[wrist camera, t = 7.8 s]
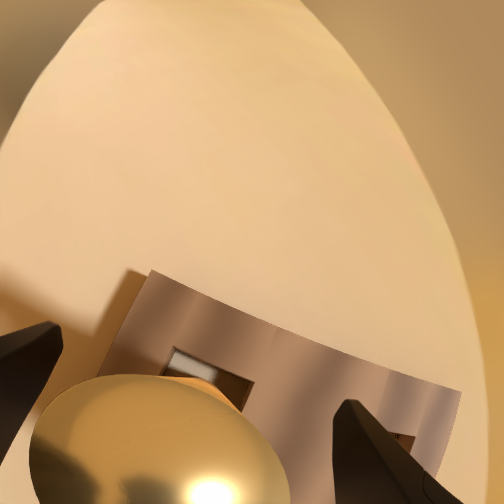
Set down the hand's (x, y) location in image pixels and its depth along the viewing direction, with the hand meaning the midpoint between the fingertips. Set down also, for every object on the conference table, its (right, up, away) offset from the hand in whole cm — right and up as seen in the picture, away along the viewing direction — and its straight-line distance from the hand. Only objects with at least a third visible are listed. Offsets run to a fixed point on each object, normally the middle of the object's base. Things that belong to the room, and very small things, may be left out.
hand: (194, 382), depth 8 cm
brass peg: (-2, -5, +8) cm, 10 cm away
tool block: (+4, -8, +8) cm, 12 cm away
